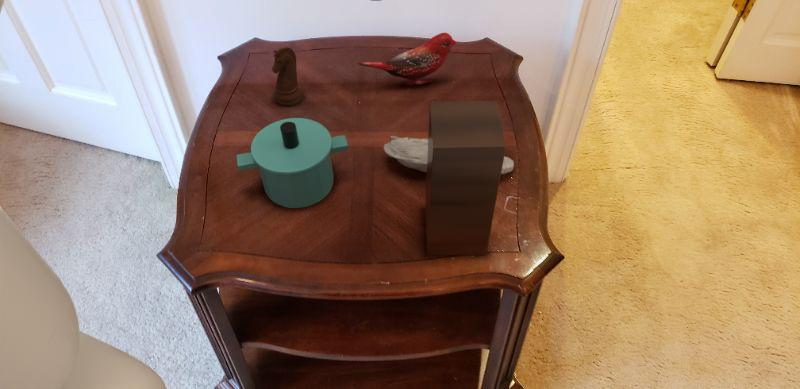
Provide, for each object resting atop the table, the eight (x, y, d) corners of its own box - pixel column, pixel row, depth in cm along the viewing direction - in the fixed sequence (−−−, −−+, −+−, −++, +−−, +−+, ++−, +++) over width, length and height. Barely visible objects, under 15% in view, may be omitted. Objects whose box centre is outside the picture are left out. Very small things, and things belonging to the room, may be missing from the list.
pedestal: (486, 254, 75) (506, 146, 60) (427, 255, 75) (433, 147, 60) (479, 210, 81) (496, 100, 66) (425, 210, 81) (429, 101, 66)
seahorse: (504, 132, 90) (382, 124, 87) (526, 161, 80) (390, 153, 77) (498, 160, 93) (379, 154, 90) (519, 192, 83) (386, 186, 80)
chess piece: (270, 98, 98) (259, 50, 91) (292, 85, 101) (283, 37, 94) (287, 109, 96) (278, 60, 89) (309, 96, 99) (301, 47, 91)
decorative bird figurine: (456, 84, 101) (460, 36, 94) (360, 97, 99) (357, 48, 91) (452, 75, 103) (455, 27, 95) (358, 87, 100) (354, 39, 93)
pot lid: (339, 168, 77) (336, 145, 74) (256, 185, 75) (249, 162, 72) (324, 117, 84) (321, 94, 81) (248, 131, 82) (242, 108, 79)
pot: (357, 196, 83) (353, 160, 77) (250, 218, 80) (238, 182, 74) (343, 150, 89) (339, 114, 84) (244, 169, 87) (233, 133, 81)
